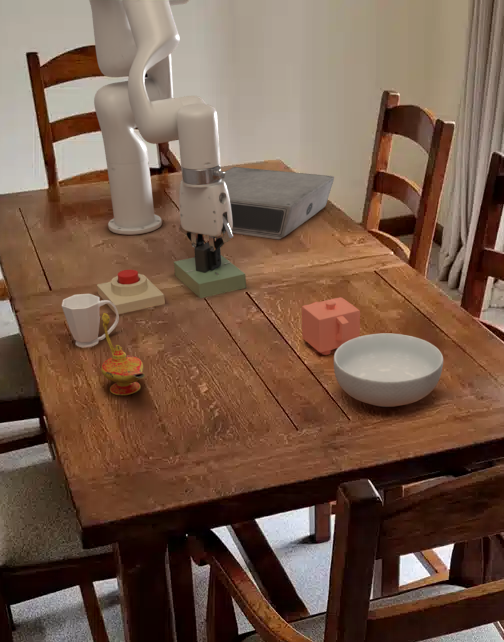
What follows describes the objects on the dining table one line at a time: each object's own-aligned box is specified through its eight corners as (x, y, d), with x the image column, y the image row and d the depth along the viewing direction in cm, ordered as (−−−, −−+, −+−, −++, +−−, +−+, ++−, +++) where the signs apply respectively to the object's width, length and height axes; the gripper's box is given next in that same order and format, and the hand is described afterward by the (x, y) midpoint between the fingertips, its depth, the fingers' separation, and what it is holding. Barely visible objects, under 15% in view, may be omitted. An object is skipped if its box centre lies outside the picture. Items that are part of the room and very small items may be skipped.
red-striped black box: (205, 272, 190) (203, 249, 187) (195, 270, 191) (193, 247, 188) (221, 263, 194) (220, 240, 191) (212, 261, 195) (210, 238, 192)
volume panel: (174, 275, 198) (173, 260, 196) (219, 266, 201) (217, 251, 199) (200, 298, 187) (198, 283, 185) (246, 288, 190) (245, 273, 189)
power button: (115, 280, 187) (114, 271, 186) (135, 276, 189) (134, 267, 188) (122, 287, 184) (121, 278, 183) (141, 283, 186) (140, 274, 185)
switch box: (97, 293, 192) (95, 274, 189) (144, 283, 195) (142, 265, 192) (116, 315, 182) (113, 295, 180) (165, 304, 186) (163, 284, 183)
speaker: (176, 227, 223) (291, 241, 211) (173, 193, 219) (290, 205, 206) (226, 197, 240) (335, 209, 228) (224, 165, 236) (334, 175, 223)
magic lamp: (126, 421, 149) (117, 357, 142) (92, 375, 162) (82, 315, 156) (167, 410, 151) (160, 347, 145) (130, 365, 164) (122, 306, 158)
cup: (63, 339, 174) (55, 298, 170) (114, 327, 178) (108, 286, 173) (74, 354, 169) (67, 312, 164) (127, 341, 173) (121, 299, 168)
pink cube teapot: (332, 327, 173) (332, 284, 169) (365, 352, 164) (366, 308, 160) (294, 336, 171) (293, 293, 166) (325, 362, 162) (325, 317, 157)
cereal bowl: (365, 432, 143) (366, 390, 138) (315, 386, 155) (315, 346, 151) (461, 405, 148) (465, 364, 144) (405, 363, 160) (407, 324, 156)
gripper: (247, 174, 180) (251, 267, 191) (180, 164, 188) (189, 254, 199) (223, 185, 175) (229, 280, 186) (156, 174, 183) (166, 265, 194)
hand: (208, 265), depth 192 cm, fingers closed on red-striped black box, 2 cm apart
